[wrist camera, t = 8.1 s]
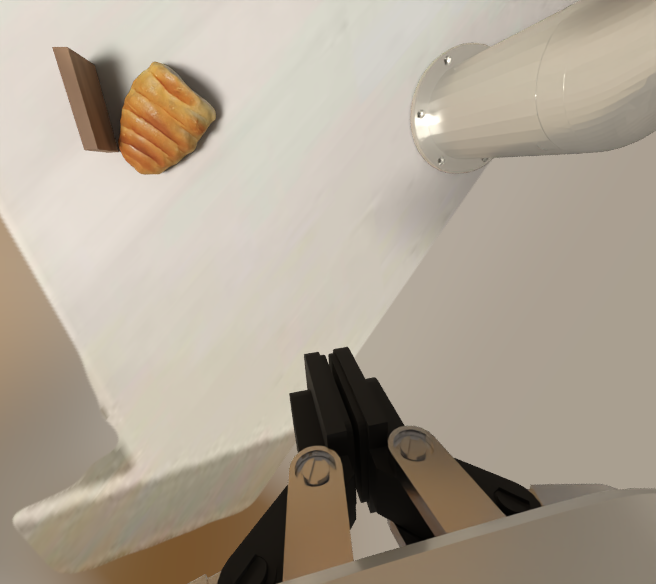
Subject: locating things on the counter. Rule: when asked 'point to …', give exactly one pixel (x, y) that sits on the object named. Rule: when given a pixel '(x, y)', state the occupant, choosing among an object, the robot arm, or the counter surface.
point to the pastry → (161, 120)
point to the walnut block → (86, 100)
